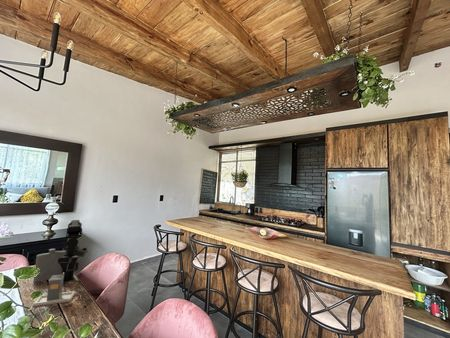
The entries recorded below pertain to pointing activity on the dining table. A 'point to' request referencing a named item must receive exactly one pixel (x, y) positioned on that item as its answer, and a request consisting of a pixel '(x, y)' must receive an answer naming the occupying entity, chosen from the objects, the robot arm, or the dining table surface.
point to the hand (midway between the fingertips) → (69, 270)
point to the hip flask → (48, 265)
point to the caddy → (55, 287)
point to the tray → (64, 298)
